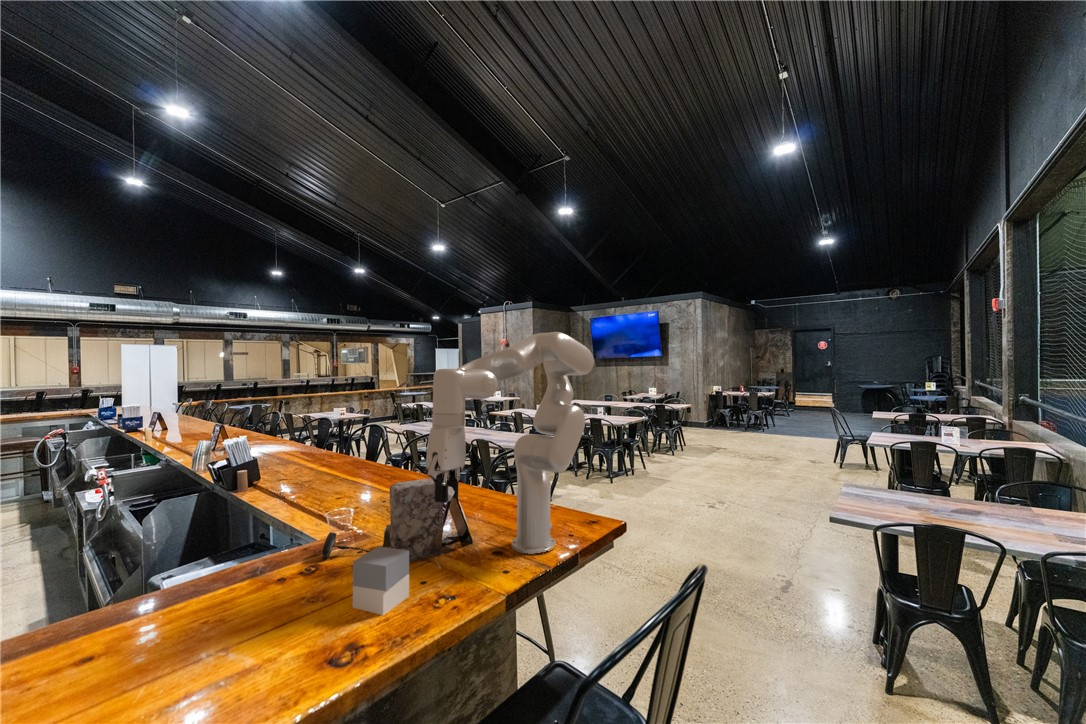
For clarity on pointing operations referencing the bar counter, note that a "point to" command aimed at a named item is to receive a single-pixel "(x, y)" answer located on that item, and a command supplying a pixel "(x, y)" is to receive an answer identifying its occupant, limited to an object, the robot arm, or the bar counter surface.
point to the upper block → (381, 568)
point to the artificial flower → (331, 542)
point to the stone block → (416, 519)
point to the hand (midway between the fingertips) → (446, 498)
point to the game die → (450, 493)
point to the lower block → (380, 597)
